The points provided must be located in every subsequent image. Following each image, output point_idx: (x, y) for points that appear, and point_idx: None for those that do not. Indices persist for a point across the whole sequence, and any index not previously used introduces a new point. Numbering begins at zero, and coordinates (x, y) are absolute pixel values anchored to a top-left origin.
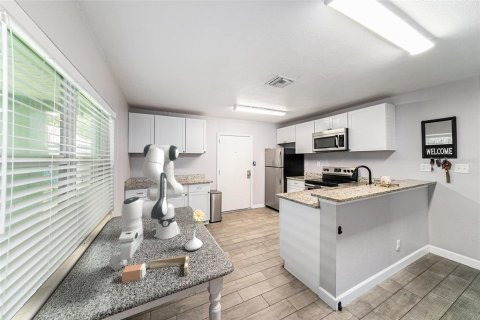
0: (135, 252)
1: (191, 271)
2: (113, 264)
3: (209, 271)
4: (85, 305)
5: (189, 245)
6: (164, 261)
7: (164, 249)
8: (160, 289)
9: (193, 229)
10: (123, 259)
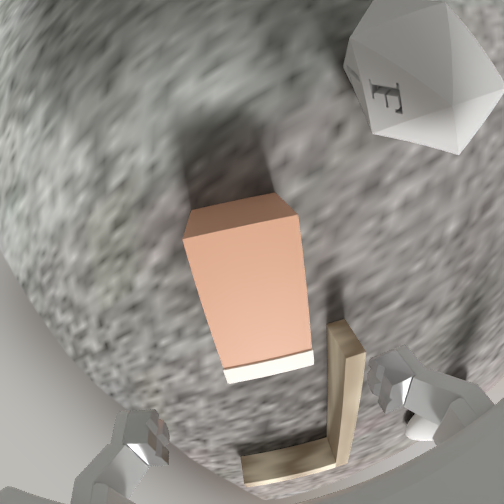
0: (384, 372)
1: None
2: (351, 46)
3: None
4: (11, 122)
5: (429, 424)
6: (338, 407)
7: (484, 294)
8: None
9: None
10: (9, 497)
